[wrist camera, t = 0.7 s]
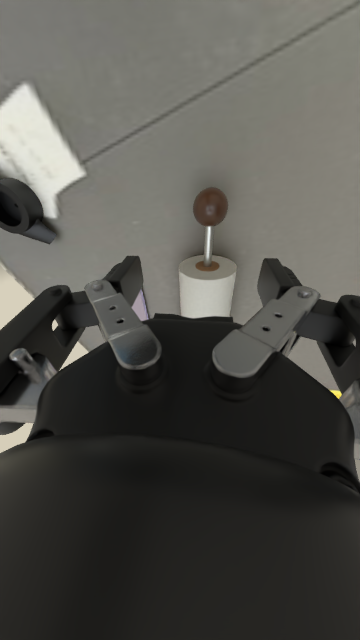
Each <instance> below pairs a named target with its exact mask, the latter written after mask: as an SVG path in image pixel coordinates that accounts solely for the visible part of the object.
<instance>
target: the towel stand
mask: <svg viewBox="0 0 360 640" xmlns="http://www.w3.org/2000/svg"><path fill="white" fill-rule="evenodd" d="M227 210H228V201H227V198H226V196H225V194H224V193H223V192H222V191H221V190H220V189H218V188H214V187H209V188H206V189H204V190H202V191H201V192H200V193H199V194H198V195H197V197H196V198H195V201H194V205H193V212H194V216H195V218H196V220H197V221H198V222H199V223H200V224H201V225H203V226H205V236H204V255H199V256H194V257H190V258H187V259H185V260H184V261H182V262H181V263H180V265H179V284H180V306H181V316H184V317H188V318H201V317H209V316H222V317H230V310H231V304H232V297H233V290H234V284H235V277H236V271H237V266H236V264H235V263H234V262H233V261H231V260H229V259H227V258H225V257H221V256H215V255H212V249H213V234H214V226H215V225H218V224H219V223H220V222H221V221H222V220H223V219H224V218H225V216H226V214H227Z"/></svg>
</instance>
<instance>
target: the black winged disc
mask: <svg viewBox="0 0 360 640" xmlns="http://www.w3.org/2000/svg"><path fill="white" fill-rule="evenodd" d="M42 220H43V209H42V205H41V203H40V201H39V199H38V197H37V196H36V195H35V193H34V192H33V191H32V190H31V189H30V188H29V187H28V186H27V185H26V184H24V183H23V182H21V181H19V180H17V179H13V178H4V179H0V227H1V228H2V229H4V230H6V231H8V232H11V233H16V234H21V235H23V236H26V237H29V238H32V239H35V240H38V241H41V242H45V243H48V244H50V243H51V242H52V241H53V240H54V238H55V237H56V235H57V234H55V233H54V232H52V231H51V230H50V229H48V228H47V227H46V226H45V225H44V224H43V223H42Z"/></svg>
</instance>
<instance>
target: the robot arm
mask: <svg viewBox="0 0 360 640" xmlns="http://www.w3.org/2000/svg"><path fill="white" fill-rule="evenodd" d="M142 286H143V275H142V268H141V262H140V258H139V256H127V257H126V258H125V259H124V260H123V262H122V263H119V264H117V265H115V266H114V267H113V268H112V269H111V271H110V272H109V273H108V274H107V275H106V276H105V277H104V279H103V280H97V281H93V282H90V283H88V284H87V285H86V286H85V288H84V289H85V291H81V292H74V293H71V291H70V288H69V287H68V286H66V285H57V286H53V287H50V288H48V289H46V290H44V291H43V292H42V293H41V294H40V295H39V296H38V297H36V298H35V299H34V300H33V301H32V302H31V303H30V304H29V305H28V306H27V307H25V308H24V309H23V310H22V311H21V312H20V313H19V314H18V315H17V316H15V317H14V318H13V319H12V320H11V321H10V322H9V323H8V324H7V325H6V326H5V327H3V328H2V329H1V330H0V435H6V434H9V433H12V432H14V431H16V430H17V429H19V428H20V427H22V426H23V424H25V423H34V424H33V427H32V430H31V432H30V435H29V437H28V439H27V441H26V442H25V443H22V444H20V445H17V446H14V447H12V448H10V449H8V450H6V451H4V452H2V453H0V640H360V482H359V479H358V475H357V471H356V466H355V459H357V460H360V296H355V295H344V296H341V297H340V299H339V301H338V303H335V302H330V301H325V300H321V299H319V298H320V294H319V293H318V292H317V291H316V290H314V289H312V288H309V287H305V286H302V284H301V283H300V282H299V280H298V279H297V277H296V276H295V275H294V273H293V272H292V270H290V269H289V268H287V267H284V266H282V265H281V263H280V262H279V260H278V259H275V258H265V259H264V260H263V263H262V267H261V271H260V275H259V279H258V285H257V289H258V293H259V296H260V299H261V301H262V304H263V308H262V309H260V310H259V311H258V312H257V313H256V314H255V315H254V316H253V317H252V318H251V319H250V320H249V321H248V322H247V323H246V324H245V325H240V324H237V323H234V322H233V317H222V316H209V317H201V318H188V317H184V316H179V315H175V314H158V313H155V315H154V318H153V319H147V320H144V321H141V320H140V319H139V317H138V316H137V315H136V313H135V312H134V310H133V309H132V306H133V304H134V302H135V300H136V298H137V296H138V294H139V292H140V290H141V288H142ZM54 319H55V320H56V322H57V323H58V326H57V328H56V329H55V330H54V331H53V330H52V322H53V321H54ZM95 325H98V326H99V329H100V331H101V334H102V336H103V338H104V341H105V343H103V344H102V345H100V346H99V347H97V348H95V349H94V350H92V351H90V352H89V353H88V354H86V355H84V356H82V357H81V358H79V359H77V360H76V361H74V362H73V363H71V364H69V365H68V366H66V367H64V368H63V369H61V370H60V368H61V367H62V365H63V363H64V362H65V360H66V359H67V357H68V356H69V354H70V352H71V351H72V349H73V348H74V346H75V344H76V343H77V341H78V340H79V338H80V336H81V335H82V333H83V332H84V330H85V328H86V327H89V326H95ZM300 337H305V338H309V339H313V340H317V344H318V346H319V348H320V350H321V352H322V354H323V356H324V358H325V360H326V362H327V365H328V367H329V369H330V371H331V373H332V375H333V377H334V379H335V381H336V383H337V385H338V387H339V389H340V391H341V394H342V396H341V397H340V398H339V399H338V398H337V397H336V396H335V395H334V394H333V393H332V392H331V391H329V390H328V389H327V388H326V387H324V386H323V385H322V384H321V383H319V382H318V381H317V380H315V379H314V378H313V377H312V376H310V375H309V374H308V373H306V372H305V371H304V370H303V369H301V368H300V367H299V366H297V365H296V364H295V363H294V362H292V361H291V360H290V359H289V358H287V356H288V355H289V354H290V352H291V351H292V349H293V348H294V346H295V345H296V344H297V342H298V341H299V339H300ZM354 339H356V347H355V346H354V345H353V343H352V342H353V341H354ZM59 370H60V371H59ZM58 371H59V372H58Z"/></svg>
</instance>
